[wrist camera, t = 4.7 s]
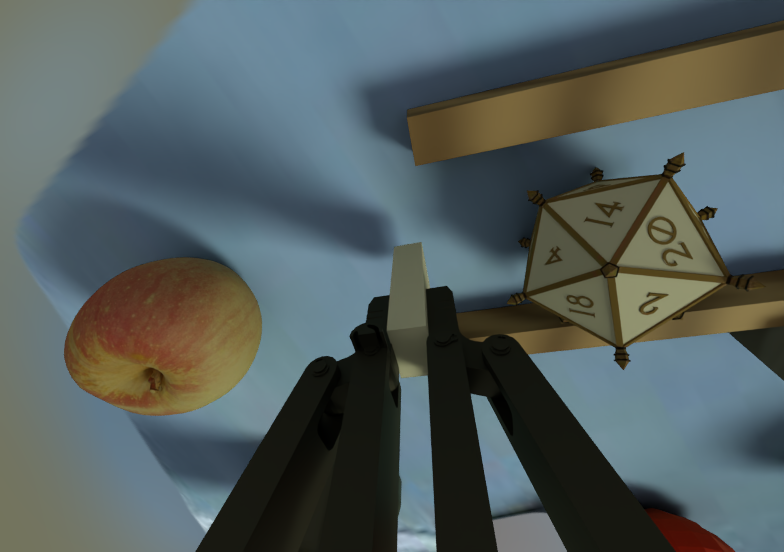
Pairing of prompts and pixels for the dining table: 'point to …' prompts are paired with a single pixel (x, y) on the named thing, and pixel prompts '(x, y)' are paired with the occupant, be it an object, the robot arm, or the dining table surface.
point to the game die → (623, 257)
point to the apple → (165, 336)
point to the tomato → (686, 533)
